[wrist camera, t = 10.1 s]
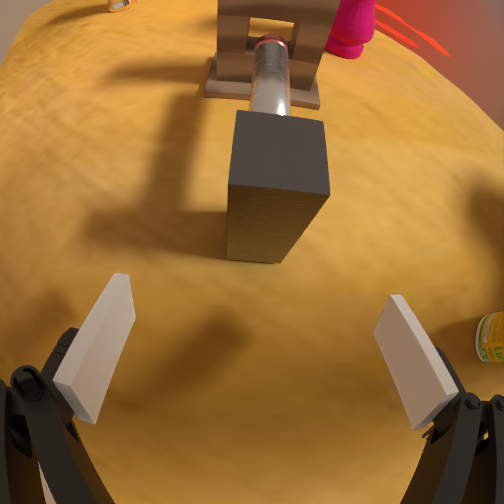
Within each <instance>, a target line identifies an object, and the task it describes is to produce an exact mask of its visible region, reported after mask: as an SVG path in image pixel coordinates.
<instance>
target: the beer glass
mask: <svg viewBox="0 0 504 504" xmlns="http://www.w3.org/2000/svg"><path fill="white" fill-rule="evenodd" d="M137 3H138V0H108V11H109V12H118V11H122V10H125V9H128V8H130V7H132V6H134V5H136V4H137Z"/></svg>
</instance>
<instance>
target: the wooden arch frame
mask: <svg viewBox="0 0 504 504" xmlns="http://www.w3.org/2000/svg"><path fill="white" fill-rule="evenodd" d="M340 1H341V0H218V13H217V52H215V55H214V58H213V62H212V65H211V69H210V72H209V76H208V79H207V83H206V87H205V91H204V97H211V98H229V99H242V100H250V93H251V83H252V73H253V64H254V54H255V45H256V42H257V40H258V39H259V38H260V37H252V36H248V32H249V23H250V17H253V18H263V19H272V20H279V21H286V22H292V23H294V27H293V31H292V35H291V40H290V41H286V42H287V46H288V62H289V80H290V103H291V105H293V106H299V107H305V108H311V109H317V110H318V109H319V107H320V99H319V92H318V85H317V79H316V72H317V69H318V66H319V63H320V60H321V57H322V54H323V51H324V48H325V45H326V42H327V40H328V37H329V34H330V31H331V28H332V25H333V22H334V19H335V16H336V13H337V10H338V7H339V4H340Z"/></svg>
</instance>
